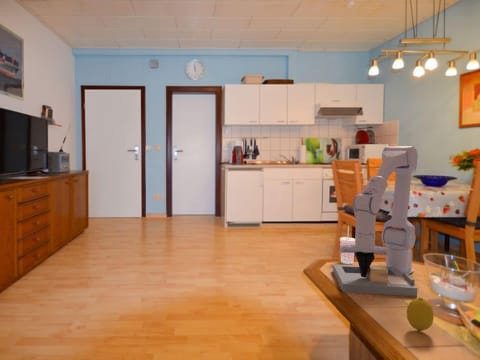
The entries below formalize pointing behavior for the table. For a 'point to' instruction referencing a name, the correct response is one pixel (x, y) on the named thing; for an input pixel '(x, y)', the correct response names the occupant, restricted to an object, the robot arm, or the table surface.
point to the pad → (397, 280)
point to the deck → (355, 283)
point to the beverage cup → (345, 257)
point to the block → (377, 273)
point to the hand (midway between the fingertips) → (363, 276)
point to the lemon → (420, 314)
